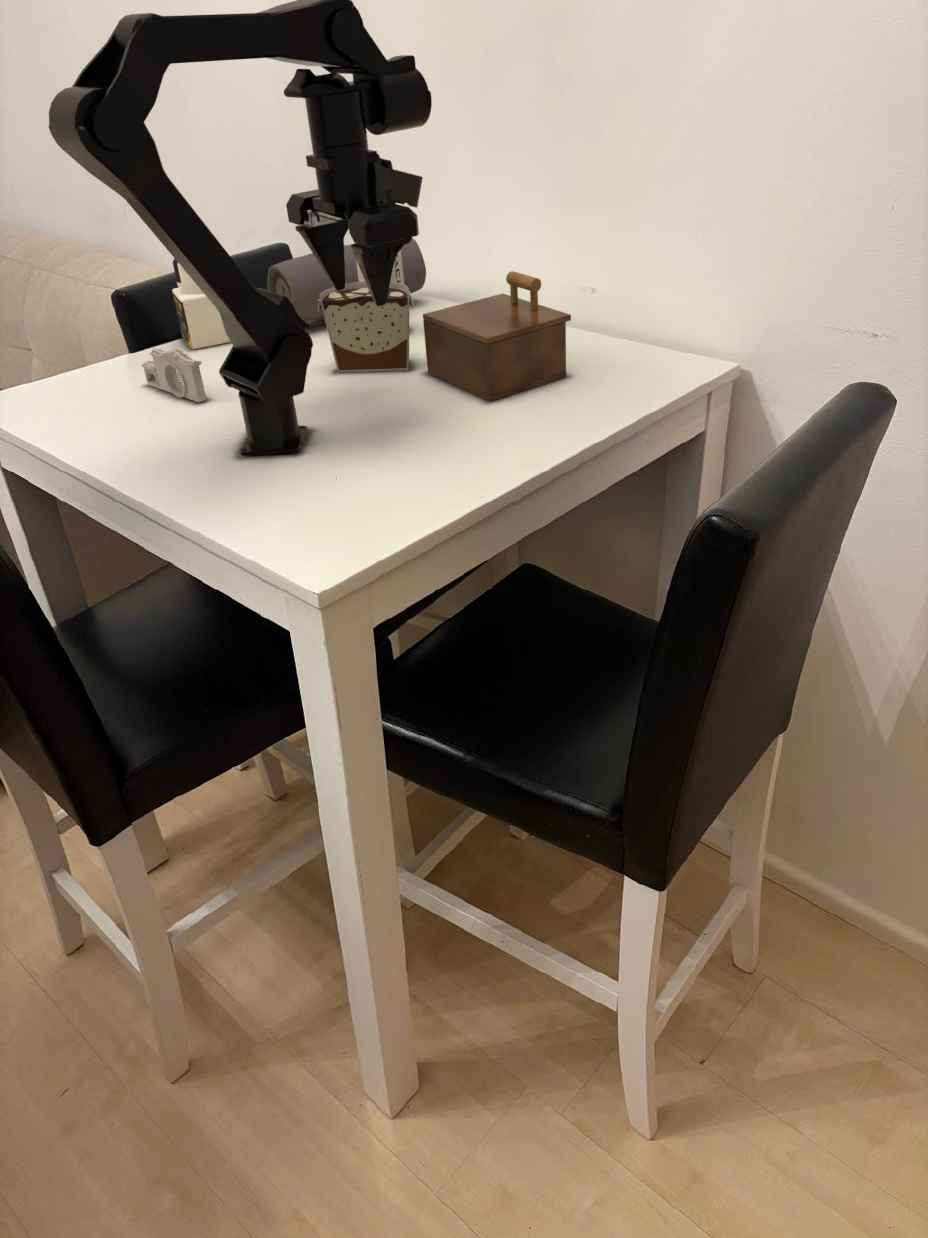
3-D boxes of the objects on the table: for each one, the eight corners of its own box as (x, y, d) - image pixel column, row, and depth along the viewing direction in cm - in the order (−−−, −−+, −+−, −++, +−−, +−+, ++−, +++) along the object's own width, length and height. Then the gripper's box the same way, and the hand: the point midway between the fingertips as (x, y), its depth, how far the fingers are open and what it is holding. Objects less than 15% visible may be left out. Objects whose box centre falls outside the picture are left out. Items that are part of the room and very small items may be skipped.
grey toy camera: (145, 386, 126) (134, 341, 123) (157, 381, 128) (146, 337, 124) (199, 404, 119) (188, 357, 116) (210, 399, 121) (200, 353, 117)
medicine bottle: (182, 337, 143) (163, 253, 137) (229, 328, 146) (212, 245, 139) (192, 350, 138) (172, 263, 131) (241, 340, 140) (224, 254, 134)
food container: (426, 354, 130) (419, 277, 124) (420, 369, 125) (412, 290, 119) (336, 356, 131) (325, 281, 126) (326, 372, 126) (315, 294, 121)
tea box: (500, 351, 129) (498, 299, 125) (566, 377, 119) (566, 321, 115) (427, 373, 123) (422, 319, 120) (490, 401, 114) (487, 344, 110)
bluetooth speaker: (300, 338, 139) (289, 267, 133) (272, 325, 145) (259, 256, 140) (431, 304, 149) (425, 236, 144) (399, 293, 156) (392, 227, 150)
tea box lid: (503, 298, 125) (501, 262, 123) (571, 320, 116) (571, 281, 113) (422, 319, 120) (419, 282, 117) (487, 344, 110) (485, 304, 108)
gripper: (455, 137, 96) (467, 296, 104) (362, 124, 109) (379, 267, 118) (358, 155, 91) (378, 321, 100) (273, 140, 104) (297, 287, 113)
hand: (360, 297), depth 108 cm, fingers open, 9 cm apart
